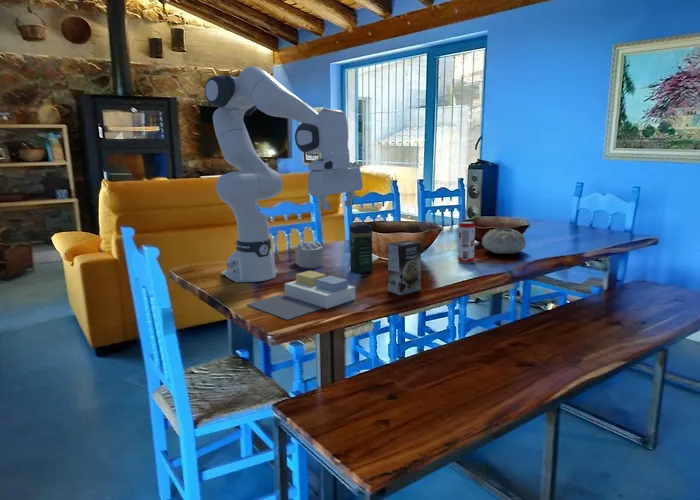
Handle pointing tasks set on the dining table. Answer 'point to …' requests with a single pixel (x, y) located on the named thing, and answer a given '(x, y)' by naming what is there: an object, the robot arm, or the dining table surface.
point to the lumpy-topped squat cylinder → (309, 254)
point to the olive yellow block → (309, 277)
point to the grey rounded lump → (504, 241)
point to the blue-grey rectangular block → (332, 283)
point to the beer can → (466, 242)
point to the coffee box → (404, 267)
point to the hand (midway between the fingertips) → (337, 207)
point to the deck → (319, 294)
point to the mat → (284, 307)
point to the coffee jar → (361, 247)
